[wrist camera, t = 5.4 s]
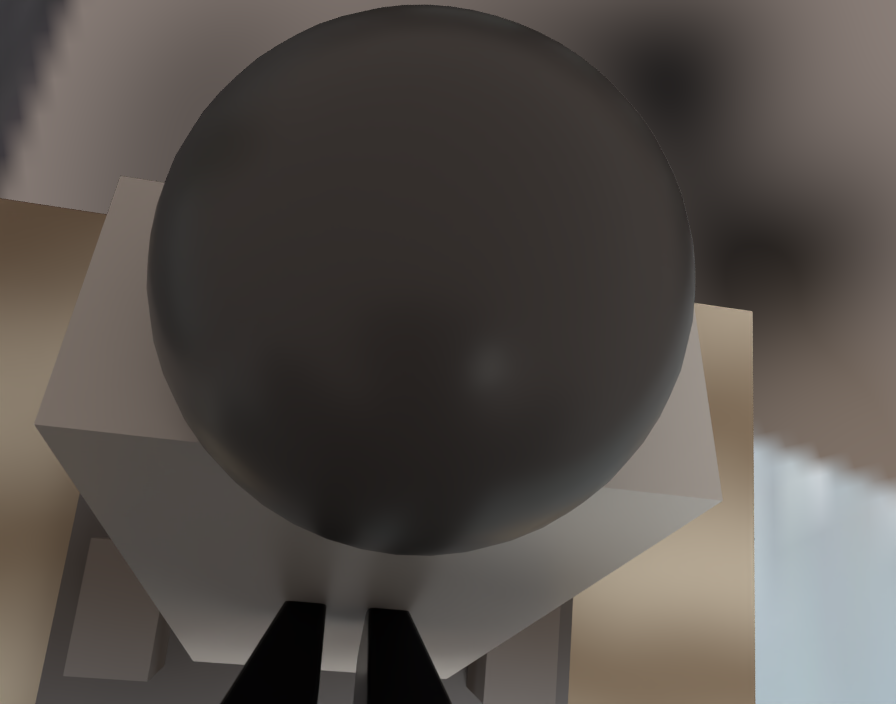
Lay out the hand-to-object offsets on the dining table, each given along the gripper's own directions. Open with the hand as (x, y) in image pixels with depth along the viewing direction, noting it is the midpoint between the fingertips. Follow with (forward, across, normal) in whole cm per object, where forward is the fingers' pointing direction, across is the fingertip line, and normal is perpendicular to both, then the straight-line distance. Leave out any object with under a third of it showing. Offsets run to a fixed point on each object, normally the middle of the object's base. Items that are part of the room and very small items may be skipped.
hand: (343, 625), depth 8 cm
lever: (+3, 0, +4) cm, 5 cm away
